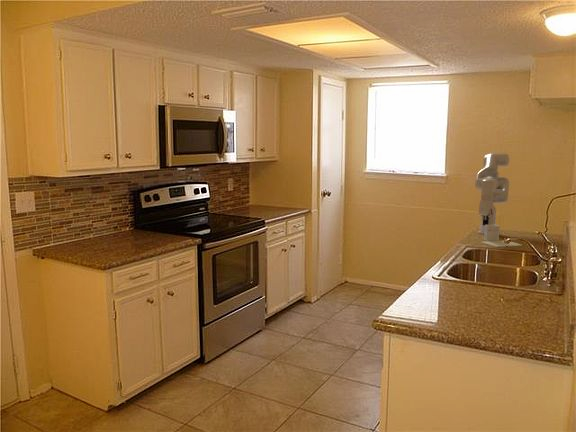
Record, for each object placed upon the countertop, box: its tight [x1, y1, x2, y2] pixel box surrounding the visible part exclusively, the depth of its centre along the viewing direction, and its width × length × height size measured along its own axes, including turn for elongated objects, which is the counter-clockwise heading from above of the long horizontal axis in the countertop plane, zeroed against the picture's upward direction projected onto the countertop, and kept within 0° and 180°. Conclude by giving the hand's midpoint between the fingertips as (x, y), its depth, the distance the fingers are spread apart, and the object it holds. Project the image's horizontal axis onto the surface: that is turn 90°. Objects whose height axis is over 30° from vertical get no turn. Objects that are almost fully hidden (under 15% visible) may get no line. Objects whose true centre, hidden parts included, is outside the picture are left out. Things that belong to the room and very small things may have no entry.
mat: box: [480, 240, 524, 248], centre depth 315 cm, size 15×19×1 cm
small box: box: [483, 224, 500, 242], centre depth 326 cm, size 8×6×10 cm
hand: (485, 225), depth 332 cm, fingers closed
